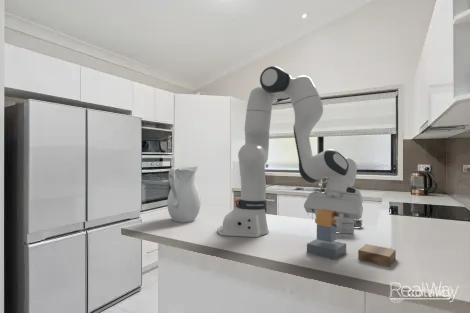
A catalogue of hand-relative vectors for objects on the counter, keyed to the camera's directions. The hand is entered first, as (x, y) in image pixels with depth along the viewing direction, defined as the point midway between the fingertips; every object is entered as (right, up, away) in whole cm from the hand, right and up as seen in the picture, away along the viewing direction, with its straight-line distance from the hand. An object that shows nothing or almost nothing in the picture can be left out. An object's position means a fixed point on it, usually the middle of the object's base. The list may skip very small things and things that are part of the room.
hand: (326, 224), depth 96 cm
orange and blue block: (0, -5, 0) cm, 5 cm away
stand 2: (+15, -10, -6) cm, 19 cm away
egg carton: (+25, -11, +41) cm, 49 cm away
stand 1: (0, -10, 0) cm, 10 cm away
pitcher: (-59, -10, +44) cm, 74 cm away
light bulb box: (+16, -11, +30) cm, 35 cm away
